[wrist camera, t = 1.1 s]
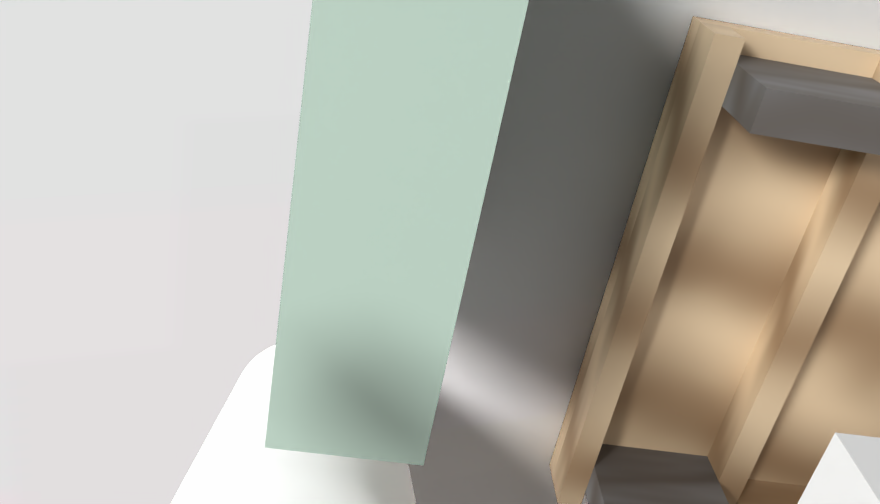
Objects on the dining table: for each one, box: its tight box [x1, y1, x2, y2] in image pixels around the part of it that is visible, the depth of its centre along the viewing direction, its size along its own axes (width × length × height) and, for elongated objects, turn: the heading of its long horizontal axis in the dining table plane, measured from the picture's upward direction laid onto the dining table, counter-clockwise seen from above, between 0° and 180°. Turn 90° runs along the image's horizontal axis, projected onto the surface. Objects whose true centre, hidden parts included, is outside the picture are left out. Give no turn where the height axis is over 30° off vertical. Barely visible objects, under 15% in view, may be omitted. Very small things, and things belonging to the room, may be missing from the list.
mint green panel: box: [265, 0, 529, 466], centre depth 23 cm, size 14×4×12 cm, turn 170°
